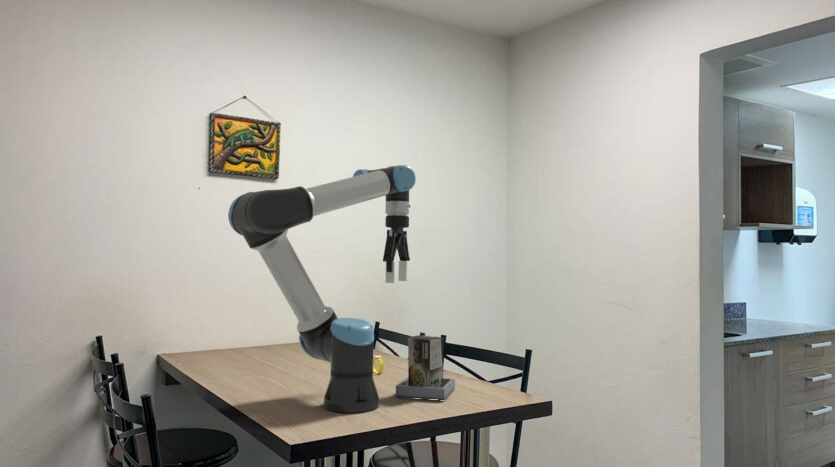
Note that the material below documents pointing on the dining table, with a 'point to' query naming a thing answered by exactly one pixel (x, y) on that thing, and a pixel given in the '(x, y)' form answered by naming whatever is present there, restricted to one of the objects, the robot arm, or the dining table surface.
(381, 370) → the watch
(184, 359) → the dining table surface
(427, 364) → the coffee box
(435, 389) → the tray
